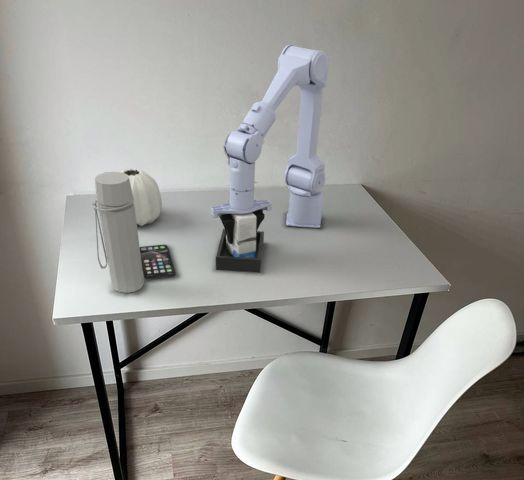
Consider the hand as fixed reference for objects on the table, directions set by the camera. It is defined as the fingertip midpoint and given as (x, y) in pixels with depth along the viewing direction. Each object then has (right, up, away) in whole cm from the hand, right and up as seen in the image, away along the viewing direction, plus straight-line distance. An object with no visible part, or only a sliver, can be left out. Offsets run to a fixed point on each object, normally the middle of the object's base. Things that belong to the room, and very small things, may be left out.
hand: (240, 240), depth 127 cm
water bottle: (-26, -13, -10) cm, 31 cm away
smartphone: (-20, -6, -1) cm, 21 cm away
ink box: (0, -3, +3) cm, 4 cm away
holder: (0, -3, +3) cm, 4 cm away
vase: (-29, +9, +16) cm, 34 cm away
